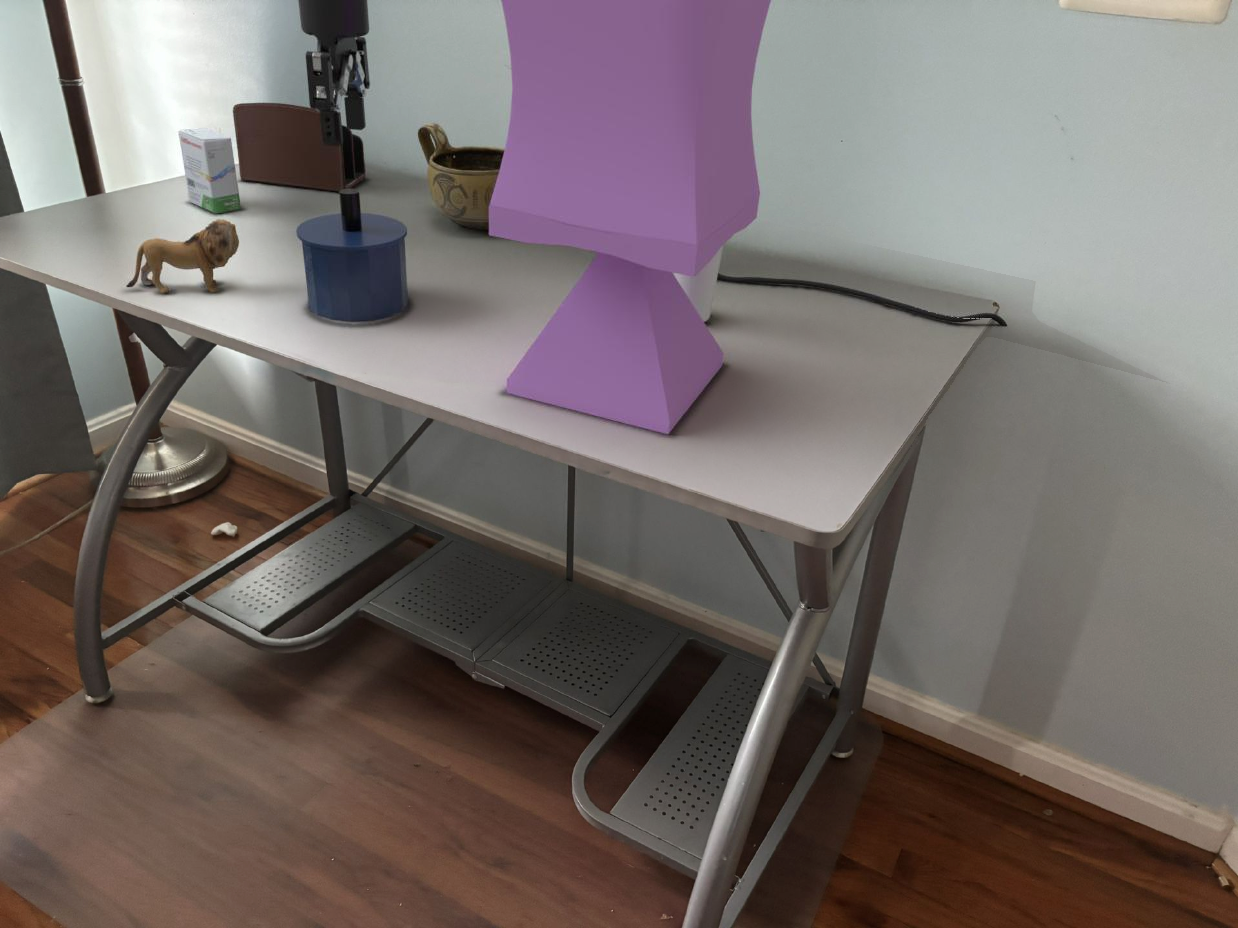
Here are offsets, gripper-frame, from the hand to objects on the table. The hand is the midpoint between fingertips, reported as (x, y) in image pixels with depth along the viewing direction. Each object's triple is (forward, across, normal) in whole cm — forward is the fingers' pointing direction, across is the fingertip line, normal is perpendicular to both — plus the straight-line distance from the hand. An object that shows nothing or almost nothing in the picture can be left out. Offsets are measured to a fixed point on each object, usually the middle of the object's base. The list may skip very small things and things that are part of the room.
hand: (345, 137), depth 116 cm
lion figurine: (+22, -2, -24) cm, 32 cm away
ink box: (+22, -36, -36) cm, 56 cm away
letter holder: (+22, -55, -28) cm, 66 cm away
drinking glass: (+22, -7, +44) cm, 50 cm away
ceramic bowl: (+22, -39, +8) cm, 46 cm away
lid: (+12, 0, 0) cm, 12 cm away
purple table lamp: (+22, +14, +36) cm, 44 cm away
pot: (+22, 0, 0) cm, 22 cm away
